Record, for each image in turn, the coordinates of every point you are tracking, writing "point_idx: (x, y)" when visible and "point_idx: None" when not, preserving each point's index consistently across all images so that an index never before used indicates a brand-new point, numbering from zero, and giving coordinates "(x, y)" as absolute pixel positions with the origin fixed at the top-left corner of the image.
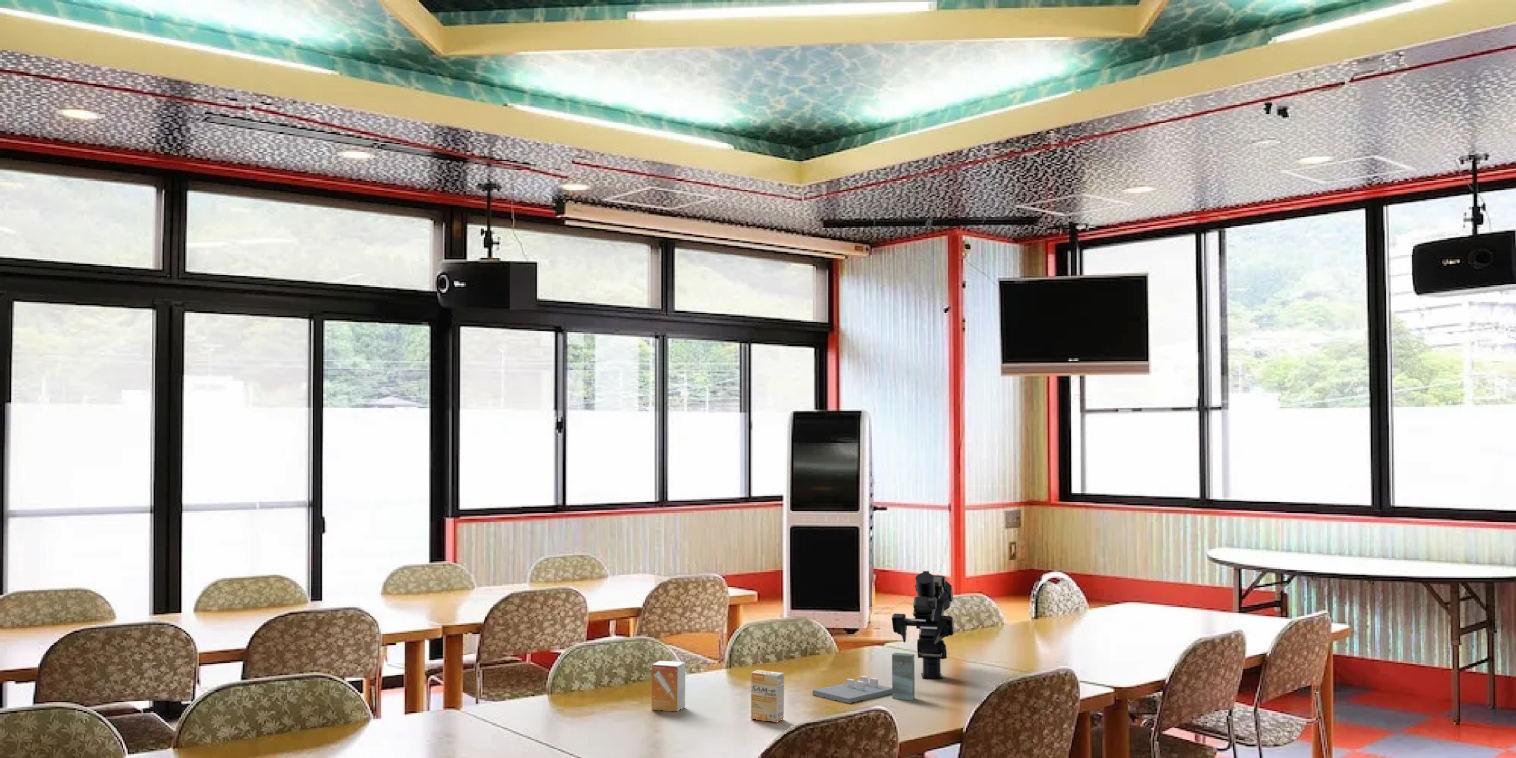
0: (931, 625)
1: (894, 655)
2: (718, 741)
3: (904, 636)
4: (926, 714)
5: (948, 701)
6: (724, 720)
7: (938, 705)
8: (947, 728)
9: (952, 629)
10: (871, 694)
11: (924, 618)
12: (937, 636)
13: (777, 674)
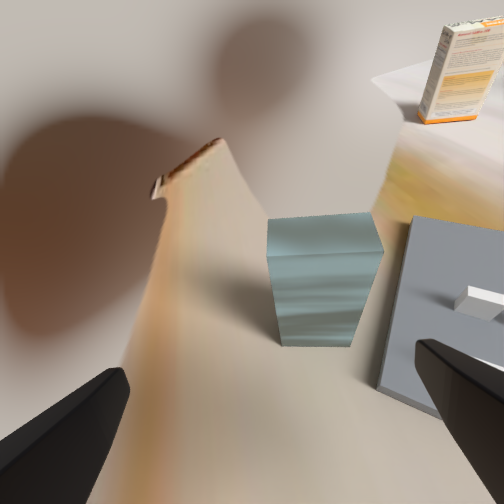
0: None
1: (356, 217)
2: (412, 73)
3: (455, 362)
4: (220, 220)
5: (177, 344)
6: (494, 98)
7: (202, 291)
8: (182, 176)
9: None
10: (400, 282)
11: None
12: (31, 426)
13: (449, 26)
